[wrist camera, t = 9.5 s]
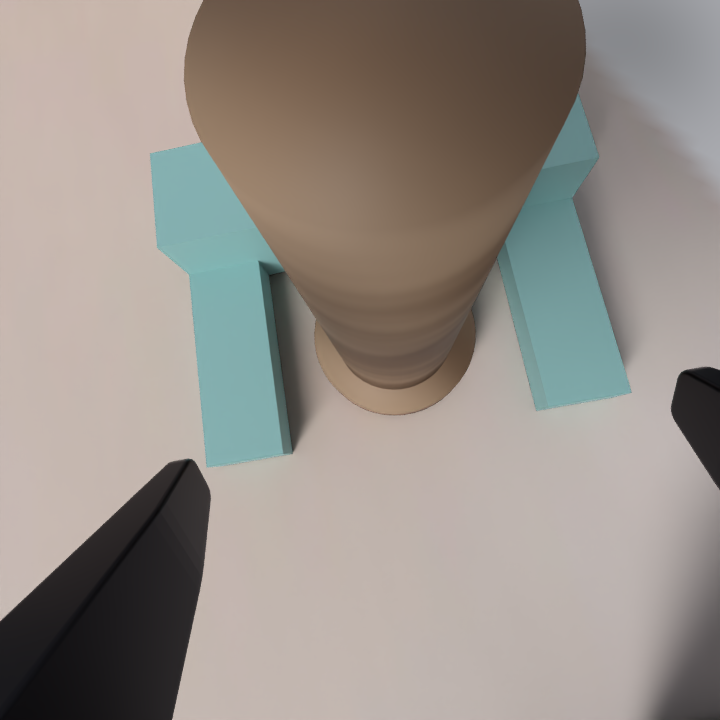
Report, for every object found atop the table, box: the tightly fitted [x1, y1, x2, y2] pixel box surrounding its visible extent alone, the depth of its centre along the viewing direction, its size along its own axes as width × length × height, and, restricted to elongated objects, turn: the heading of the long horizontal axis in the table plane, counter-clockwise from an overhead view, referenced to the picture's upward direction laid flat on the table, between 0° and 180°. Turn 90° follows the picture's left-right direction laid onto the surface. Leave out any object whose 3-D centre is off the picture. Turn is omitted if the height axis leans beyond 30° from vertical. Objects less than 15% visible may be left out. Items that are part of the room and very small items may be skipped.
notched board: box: [150, 94, 632, 467], centre depth 17 cm, size 12×16×4 cm
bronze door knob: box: [184, 0, 586, 415], centre depth 12 cm, size 6×6×14 cm
